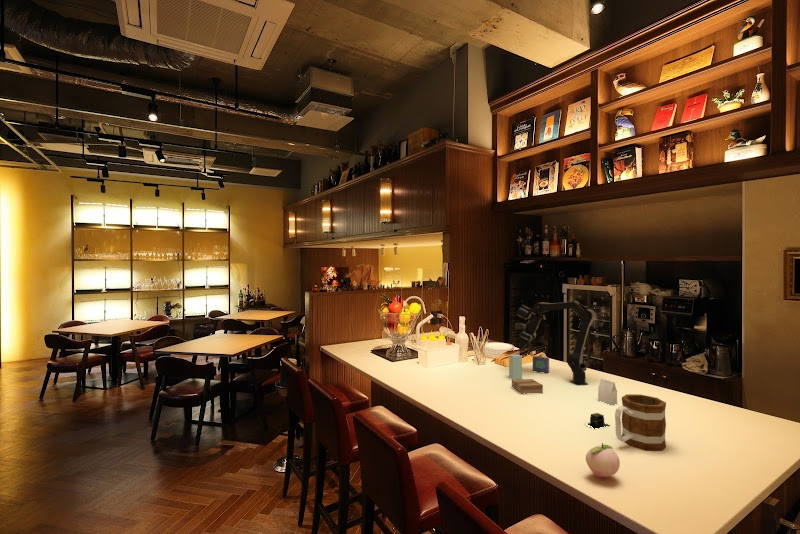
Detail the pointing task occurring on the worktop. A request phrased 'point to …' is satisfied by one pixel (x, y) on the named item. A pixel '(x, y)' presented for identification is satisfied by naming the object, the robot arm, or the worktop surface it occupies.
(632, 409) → the mug
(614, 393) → the paper bag
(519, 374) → the tall block
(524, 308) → the robot arm
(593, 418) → the black flanged block
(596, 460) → the decorative fruit
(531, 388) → the base brick
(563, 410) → the worktop surface
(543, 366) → the flask
